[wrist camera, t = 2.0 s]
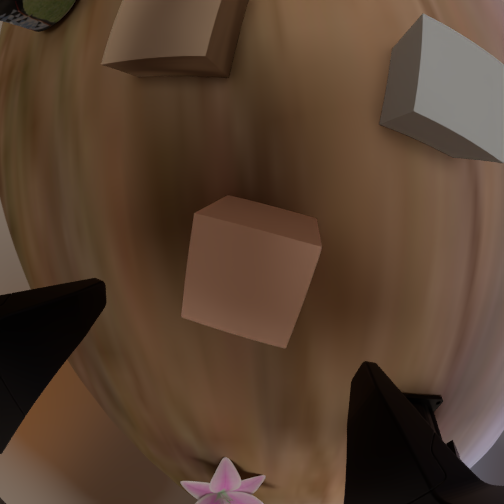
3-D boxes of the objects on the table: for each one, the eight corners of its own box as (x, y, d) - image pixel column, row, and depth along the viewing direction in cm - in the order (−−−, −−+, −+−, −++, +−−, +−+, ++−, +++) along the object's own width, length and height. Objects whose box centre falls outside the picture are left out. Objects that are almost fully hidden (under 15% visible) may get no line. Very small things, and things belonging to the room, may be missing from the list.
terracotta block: (316, 217, 14) (322, 247, 10) (292, 296, 16) (285, 348, 12) (228, 194, 15) (194, 213, 10) (213, 273, 17) (181, 317, 12)
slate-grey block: (462, 85, 10) (509, 69, 5) (452, 157, 12) (503, 163, 7) (391, 49, 10) (422, 13, 6) (378, 124, 12) (413, 111, 7)
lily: (279, 484, 29) (289, 525, 19) (209, 503, 28) (205, 543, 18) (244, 433, 30) (246, 476, 20) (169, 455, 29) (153, 495, 19)
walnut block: (249, -2, 10) (234, -37, 7) (229, 78, 13) (205, 55, 9) (162, 3, 11) (131, -21, 7) (140, 77, 13) (101, 64, 10)
